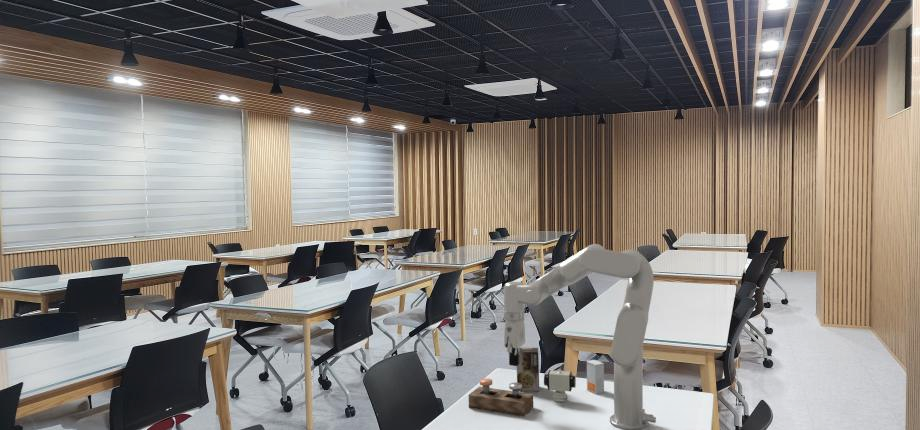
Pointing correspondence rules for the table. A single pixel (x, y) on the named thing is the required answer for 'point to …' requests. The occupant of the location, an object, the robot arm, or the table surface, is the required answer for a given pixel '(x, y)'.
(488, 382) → the terracotta plug
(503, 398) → the plug box
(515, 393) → the steel plug
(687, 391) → the table surface
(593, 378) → the skincare box
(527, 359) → the coffee box
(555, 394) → the pneumatic valve
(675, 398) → the table surface
